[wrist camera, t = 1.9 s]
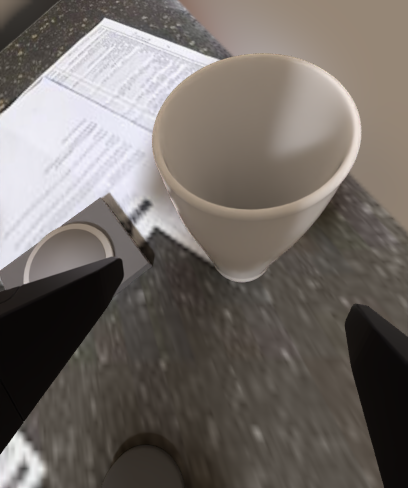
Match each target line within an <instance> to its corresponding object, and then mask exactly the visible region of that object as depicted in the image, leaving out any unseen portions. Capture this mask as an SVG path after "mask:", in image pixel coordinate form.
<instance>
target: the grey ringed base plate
mask: <svg viewBox="0 0 408 488" xmlns="http://www.w3.org/2000/svg"><path fill="white" fill-rule="evenodd" d="M112 256H113V257H118V258H121V259H122V261H123V268H124V278H123V281H122V282H121V284H120V286H119V287H118V289H117V291H116V293H115V294H114V296H115V295H117V294H118V293H119V292H120V291H122V290H123V289H124V288H125V287H127V286H128V285H129V284H130V283H132V282H133V281H134V280H136V279H137V278H138V277H139V276H141V275H142V274H143V273H144V272H146V271H147V270H148V269H149V268H151V267H152V264H151V263H150V262H149V260H148V259H147V258H146V256H145V255H144V254H143V252H142V251H141V250H140V248H139V247H138V245H137V244H136V243H135V241H134V240H133V239H132V237H131V236H130V235H129V233H128V232H127V231H126V229H125V228H124V226H123V225H122V224H121V222H120V221H119V220H118V218H117V217H116V216H115V214H114V213H113V211H112V210H111V209H110V207H109V206H108V205H107V203H106V202H105V201H104V200H102V199H101V198H99V199H98V200H96V201H95V202H94V203H92V204H91V205H89V206H88V207H87V208H85V209H84V210H83V211H81V212H80V213H78V214H77V215H76V216H74V217H73V218H72V219H70V220H69V221H67V222H66V223H65V224H63V225H62V226H61V227H59V228H57V229H55V230H53V231H52V232H50V233H49V234H48V235H46V236H45V237H44V238H43V239H42V240H41V241H40V242H39V243H37V244H36V245H35V246H33V247H32V248H31V249H29V250H28V251H26V252H25V253H24V254H22V255H21V256H20V257H18V258H17V259H15V260H14V261H13V262H11V263H10V264H9V265H7V266H6V267H4V268H3V269H2V270H0V278H1V280H2V282H3V285H4V287H5V289H6V290H7V289H11V288H14V287H17V286H21V285H23V284H27V283H30V282H33V281H36V280H39V279H42V278H45V277H49V276H52V275H55V274H58V273H61V272H64V271H67V270H71V269H74V268H77V267H80V266H83V265H86V264H89V263H93V262H96V261H99V260H102V259H105V258H108V257H112ZM114 296H113V297H114Z"/></svg>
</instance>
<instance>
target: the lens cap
mask: <svg viewBox="0 0 408 488" xmlns="http://www.w3.org/2000/svg"><path fill="white" fill-rule="evenodd" d="M101 488H185V485H184V481H183V477H182V474H181V472H180V470H179V468H178V466H177V464H176V463H175V461H174V460H173V459H172V457H171V456H170V455H169V454H168V453H167V452H165V451H164V450H162V449H160V448H158V447H156V446H153V445H139V446H135V447H133V448H131V449H129V450H127V451H126V452H125V453H123V454H122V455H121V456H120V457H119V458H118V459H117V461H116V462H115V463H114V464H113V465H112V467H111V468H110V469H109V471H108V473H107V474H106V476H105V479H104V481H103V484H102V486H101Z"/></svg>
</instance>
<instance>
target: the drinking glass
mask: <svg viewBox="0 0 408 488" xmlns="http://www.w3.org/2000/svg"><path fill="white" fill-rule="evenodd" d="M360 143H361V121H360V117H359V113H358V110H357V107H356V105H355V103H354V101H353V99H352V97H351V96H350V94H349V93H348V91H347V90H346V89H345V88H344V86H343V85H342V84H341V83H340V82H339V81H338V80H337V79H336V78H334V77H333V76H332V75H331V74H329V73H328V72H326V71H325V70H323V69H322V68H320V67H317V66H316V65H314V64H312V63H309V62H307V61H304V60H301V59H298V58H294V57H290V56H285V55H279V54H263V53H262V54H247V55H240V56H234V57H230V58H226V59H223V60H220V61H217V62H215V63H212V64H210V65H208V66H206V67H203V68H202V69H200V70H198V71H196V72H195V73H193V74H192V75H190V76H189V77H187V78H186V79H185V80H184V81H182V82H181V83H180V84H179V85H178V86H177V87H176V88H175V89H174V90H173V91H172V92H171V93H170V95H169V96H168V97H167V99H166V100H165V102H164V103H163V105H162V106H161V108H160V110H159V112H158V115H157V117H156V120H155V124H154V128H153V135H152V148H153V155H154V159H155V163H156V165H157V168H158V170H159V172H160V175H161V177H162V180H163V182H164V185H165V187H166V190H167V192H168V194H169V197H170V199H171V201H172V203H173V205H174V207H175V209H176V211H177V213H178V215H179V217H180V218H181V220H182V222H183V223H184V225H185V227H186V228H187V230H188V231H189V233H190V234H191V235H192V237H193V238H194V239H195V241H196V242H197V243H198V244H199V246H200V247H201V248H202V249H203V250H204V252H205V253H206V254H207V255H208V257H209V258H210V259H211V261H212V262H213V264H214V266H215V268H216V269H217V271H218V272H219V273H220V274H221V275H222V276H224V277H225V278H227V279H229V280H232V281H236V282H248V281H252V280H255V279H257V278H258V277H260V276H261V275H262V274H263V273H264V272H265V271H266V270H267V269H268V267H269V266H270V265H271V264H272V263H274V262H275V261H276V260H277V259H278V258H279V257H280V256H282V255H283V254H284V253H285V252H286V251H287V250H289V249H290V248H291V247H292V246H293V245H294V244H295V243H296V242H297V241H298V240H299V239H300V238H301V237H302V236H303V235H304V234H305V233H306V232H307V231H308V230H309V229H310V227H311V226H312V225H313V224H314V222H315V221H316V220H317V219H318V218H319V216H320V215H321V214H322V212H323V211H324V209H325V208H326V207H327V205H328V204H329V202H330V201H331V199H332V198H333V196H334V195H335V193H336V191H337V190H338V188H339V187H340V185H341V183H342V182H343V180H344V179H345V177H346V176H347V175H348V173H349V171H350V170H351V168H352V166H353V164H354V162H355V160H356V158H357V154H358V151H359V148H360Z"/></svg>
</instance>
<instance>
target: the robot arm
mask: <svg viewBox="0 0 408 488" xmlns="http://www.w3.org/2000/svg"><path fill="white" fill-rule="evenodd" d="M123 278H124V268H123V261H122V259H121V258H118V257H113V256H112V257H108V258H105V259H102V260H99V261H96V262H93V263H89V264H86V265H83V266H80V267H77V268H74V269H71V270H67V271H64V272H61V273H58V274H55V275H52V276H49V277H45V278H42V279H39V280H36V281H33V282H30V283H27V284H23V285H21V286H17V287H14V288H11V289H7V290H4V291H1V292H0V454H1V453H2V451H3V450H4V449H5V447H6V446H7V445H8V443H9V442H10V440H11V439H12V438H13V436H14V435H15V434H16V432H17V431H18V429H19V428H20V427H21V425H22V424H23V421H25V420H26V418H27V417H28V415H29V414H30V413H31V411H32V410H33V409H34V407H35V406H36V404H37V403H38V402H39V400H40V399H41V398H42V396H43V395H44V393H45V392H46V391H47V389H48V388H49V387H50V385H51V384H52V382H53V381H54V380H55V378H56V377H57V376H58V374H59V373H60V371H61V370H62V369H63V367H64V366H65V365H66V363H67V362H68V360H69V359H70V358H71V356H72V355H73V354H74V352H75V351H76V350H77V348H78V347H79V345H80V344H81V343H82V341H83V340H84V339H85V337H86V336H87V334H88V333H89V332H90V330H91V329H92V328H93V326H94V325H95V323H96V322H97V321H98V319H99V318H100V317H101V315H102V314H103V312H104V311H105V309H106V308H107V306H108V305H109V303H110V301H111V300H112V298H113V296H114V294H115V293H116V291H117V289H118V287H119V286H120V284H121V282H122V281H123ZM345 331H346V337H347V344H348V350H349V357H350V363H351V368H352V372H353V376H354V380H355V383H356V387H357V391H358V394H359V398H360V402H361V405H362V409H363V412H364V416H365V420H366V423H367V427H368V431H369V434H370V438H371V442H372V445H373V449H374V452H375V456H376V460H377V463H378V467H379V471H380V474H381V478H382V481H383V485H384V488H408V337H407V336H406V335H405V334H404V333H402V332H401V331H400V330H398V329H397V328H396V327H395V326H393V325H392V324H391V323H389V322H388V321H387V320H386V319H384V318H383V317H382V316H380V315H379V314H378V313H377V312H375V311H374V310H373V309H371V308H370V307H369V306H366V305H361V304H354V305H353V306H352V308H351V310H350V312H349V314H348V316H347V318H346V321H345Z"/></svg>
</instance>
